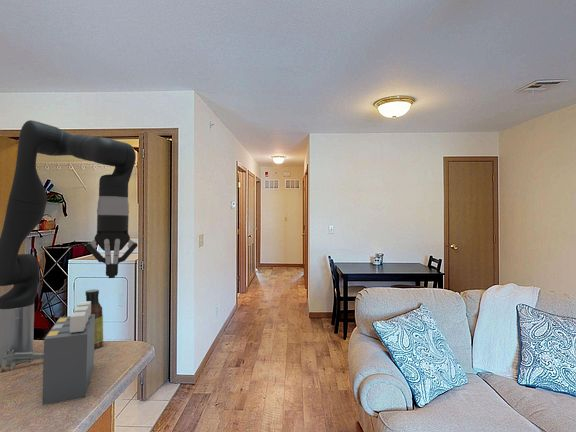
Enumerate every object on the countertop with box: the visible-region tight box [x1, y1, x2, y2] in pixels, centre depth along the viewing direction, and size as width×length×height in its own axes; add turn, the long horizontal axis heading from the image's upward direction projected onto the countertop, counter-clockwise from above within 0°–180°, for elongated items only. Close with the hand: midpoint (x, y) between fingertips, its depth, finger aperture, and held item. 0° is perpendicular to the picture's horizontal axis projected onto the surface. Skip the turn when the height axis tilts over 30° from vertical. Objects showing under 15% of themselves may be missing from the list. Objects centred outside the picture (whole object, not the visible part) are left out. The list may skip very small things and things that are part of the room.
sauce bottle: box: [84, 288, 104, 350], centre depth 115 cm, size 7×6×20 cm
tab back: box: [76, 300, 91, 318], centre depth 96 cm, size 3×4×4 cm
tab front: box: [69, 312, 86, 333], centre depth 86 cm, size 3×4×4 cm
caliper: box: [0, 349, 44, 372], centre depth 102 cm, size 20×1×6 cm, turn 127°
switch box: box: [41, 314, 95, 406], centre depth 90 cm, size 9×19×16 cm, turn 25°
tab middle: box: [73, 306, 89, 324], centre depth 91 cm, size 3×4×4 cm
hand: (111, 277), depth 89 cm, fingers closed
